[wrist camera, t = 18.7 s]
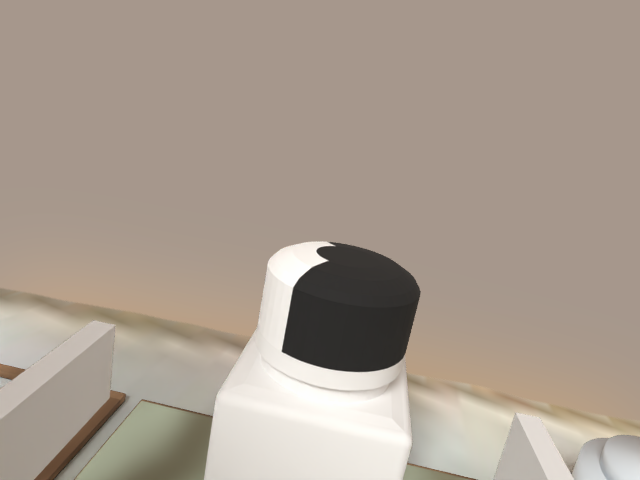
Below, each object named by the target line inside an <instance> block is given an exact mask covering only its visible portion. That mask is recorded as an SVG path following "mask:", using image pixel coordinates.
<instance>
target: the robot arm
mask: <svg viewBox="0 0 640 480" xmlns="http://www.w3.org/2000/svg"><path fill="white" fill-rule="evenodd" d="M115 326H116V325H113V324H109V323H104V322H100V321H95V320H93V321H91V322H90V323H89V324H87V325H86V326H85V327H83V328H82V329H81V330H79V331H78V332H77V333H75V334H74V335H72V336H71V337H70V338H68V339H67V340H66V341H64V342H63V343H62V344H60V345H59V346H58V347H56V348H55V349H54V350H52V351H51V352H49V353H48V354H47V355H45V356H44V357H43V358H41V359H40V360H39V361H37V362H36V363H35V364H33V365H32V366H31V367H29V368H28V369H26V370H25V371H24V372H22V373H21V374H20V375H18V376H17V377H16V378H14V379H13V380H12V381H10V382H9V383H7V384H6V385H5V386H3V387H2V388H1V389H0V480H34V479H35V478H36V477H37V476H38V475H39V474H40V473H41V472H42V470H43V469H44V468H45V467H46V466H47V465H48V464H49V463H50V462H51V461H52V460H53V459H54V457H55V456H56V455H57V454H58V453H59V452H60V451H61V450H62V449H63V448H64V447H65V446H66V445H67V443H68V442H69V441H70V440H71V439H72V438H73V437H74V436H75V435H76V434H77V433H78V432H79V430H80V429H81V428H82V427H83V426H84V425H85V424H86V423H87V422H88V421H89V420H90V419H91V417H92V416H93V415H94V414H95V413H96V412H97V411H98V410H99V409H100V408H101V407H102V406H103V405H104V403H105V402H106V401H107V400H108V399H109V398H110V388H111V375H112V363H113V351H114V338H115ZM493 480H574V478H573V477H572V475H571V473H570V471H569V469H568V468H567V466H566V464H565V462H564V460H563V459H562V457H561V455H560V453H559V451H558V449H557V448H556V446H555V444H554V442H553V440H552V439H551V437H550V435H549V433H548V431H547V430H546V428H545V426H544V424H543V422H542V420H541V419H540V418H539V417H534V416H530V415H525V414H521V413H515V416H514V419H513V422H512V425H511V428H510V431H509V434H508V437H507V440H506V443H505V446H504V449H503V452H502V455H501V458H500V461H499V464H498V467H497V470H496V473H495V476H494V479H493Z"/></svg>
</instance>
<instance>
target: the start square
mask: <svg viewBox="0 0 640 480" xmlns="http://www.w3.org/2000/svg"><path fill="white" fill-rule="evenodd" d="M24 371H25V370H24V369H20V368H16V367H12V366H8V365H3V364H0V377H3V378H7V379H11V380H13V379H14V378H16V377H17V376H18V375H20V374H21V373H22V372H24ZM125 397H126V394H124V393H120V392H116V391H112V390H110V398H109V399H108V400H107V401H106V402H105V403H104V405H103V406H102V407H101V408H100V409H99V410H98V411H97V412H96V413H95V414H94V415H93V416H92V417H91V419H90V420H89V421H88V422H87V423H86V424H85V425H84V426H83V427H82V428H81V429H80V430H79V432H78V433H77V434H76V435H75V436H74V437H73V438H72V439H71V440H70V441H69V442H68V443H67V445H66V446H65V447H64V448H63V449H62V450H61V451H60V452H59V453H58V454H57V455H56V456H55V457H54V459H53V460H52V461H51V462H50V463H49V464H48V465H47V466H46V467H45V468H44V469H43V470H42V472H41V473H40V474H39V475H38V476H37V477H36V478H35V479H34V480H53V479H54V478H55V477H56V476H57V475H58V474H59V473H60V472H61V470H62V469H63V468H64V467H65V466H66V465H67V464H68V463H69V462H70V460H71V459H72V458H73V457H74V456H75V455H76V454H77V453H78V452H79V450H80V449H81V448H82V447H83V446H84V445H85V444H86V443H87V442H88V441H89V439H90V438H91V437H92V436H93V435H94V434H95V433H96V432H97V431H98V429H99V428H100V427H101V426H102V425H103V424H104V423H105V422H106V421H107V419H108V418H109V417H110V416H111V415H112V414H113V413H114V412H115V411H116V410H117V408H118V407H119V406H120V405H121V404H122V403H123V402H124V401H125Z"/></svg>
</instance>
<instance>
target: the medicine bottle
mask: <svg viewBox="0 0 640 480" xmlns="http://www.w3.org/2000/svg"><path fill="white" fill-rule="evenodd" d="M419 297H420V289H419V287H418V285H417V283H416V281H415V279H414V277H413V276H412V275H411V274H410V273H409V272H408V271H406V270H405V269H404V268H402V267H401V266H400V265H398V264H397V263H396V262H394V261H393V260H391V259H389V258H387V257H385V256H383V255H381V254H378V253H376V252H373V251H370V250H367V249H363V248H360V247H356V246H351V245H347V244H341V243H333V242H305V243H301V244H296V245H292V246H287V247H285V248H282V249H280V250H279V251H278V252H276V253H275V254H274V255H273V256H272V257H271V258H270V259H269V261H268V265H267V271H266V278H265V283H264V289H263V296H262V302H261V307H260V314H259V320H258V326H257V328H256V330H255V332H254V333H253V335H252V337H251V338H250V340H249V342H248V343H247V345H246V347H245V348H244V350H243V352H242V353H241V355H240V357H239V358H238V360H237V362H236V363H235V365H234V367H233V368H232V370H231V372H230V373H229V375H228V377H227V378H226V380H225V382H224V383H223V385H222V387H221V388H220V390H219V392H218V393H217V396H216V399H215V406H214V413H213V420H212V427H211V433H210V440H209V447H208V454H207V461H206V468H205V475H204V480H403V477H404V473H405V470H406V466H407V462H408V459H409V455H410V451H411V448H412V430H411V419H410V408H409V396H408V385H407V374H406V362H405V353H406V349H407V345H408V341H409V337H410V333H411V329H412V325H413V321H414V317H415V313H416V309H417V305H418V301H419Z"/></svg>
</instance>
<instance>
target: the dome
mask: <svg viewBox="0 0 640 480" xmlns="http://www.w3.org/2000/svg"><path fill="white" fill-rule="evenodd" d="M571 475H572V477H573V478H574V480H640V437H637V436H631V435H617V436H613V437H611V438H597V439H593V440H590V441H588V442H586V443H585V444H584V445H583V446H582V448H581V450H580V453H579V455H578V458H577V461H576V463H575V466H574V469H573V471H572V474H571Z"/></svg>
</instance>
